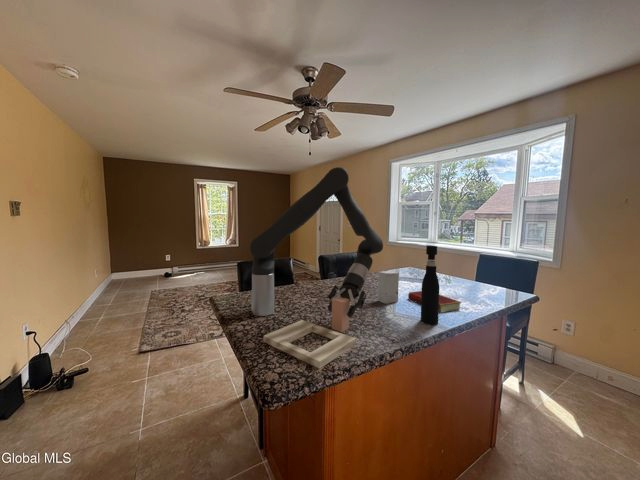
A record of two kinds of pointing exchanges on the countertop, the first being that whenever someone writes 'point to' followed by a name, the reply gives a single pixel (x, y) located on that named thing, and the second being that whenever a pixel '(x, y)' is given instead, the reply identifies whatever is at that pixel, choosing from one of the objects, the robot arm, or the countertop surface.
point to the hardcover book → (444, 302)
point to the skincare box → (388, 287)
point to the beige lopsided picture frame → (319, 355)
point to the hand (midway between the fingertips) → (338, 313)
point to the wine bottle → (430, 290)
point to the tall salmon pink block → (340, 314)
